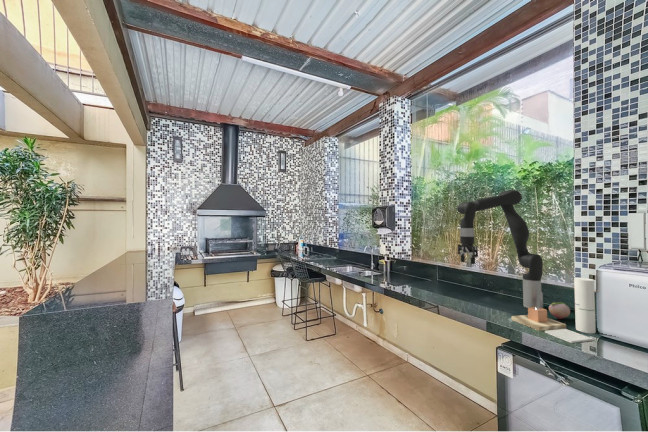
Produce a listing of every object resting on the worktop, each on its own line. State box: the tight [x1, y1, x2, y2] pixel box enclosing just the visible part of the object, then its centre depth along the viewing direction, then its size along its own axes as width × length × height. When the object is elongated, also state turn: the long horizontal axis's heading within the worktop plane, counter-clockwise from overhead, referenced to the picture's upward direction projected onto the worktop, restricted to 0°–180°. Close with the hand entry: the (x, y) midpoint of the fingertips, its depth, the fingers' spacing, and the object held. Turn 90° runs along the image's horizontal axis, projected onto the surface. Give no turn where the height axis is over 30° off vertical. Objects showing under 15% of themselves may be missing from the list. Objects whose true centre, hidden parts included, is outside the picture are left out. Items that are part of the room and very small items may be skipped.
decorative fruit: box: [548, 301, 571, 320], centre depth 152 cm, size 9×8×10 cm
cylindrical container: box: [573, 277, 597, 334], centre depth 137 cm, size 7×7×25 cm
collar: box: [527, 307, 548, 322], centre depth 146 cm, size 6×6×6 cm
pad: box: [544, 328, 594, 344], centre depth 130 cm, size 12×12×1 cm
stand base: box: [511, 314, 567, 332], centre depth 145 cm, size 16×16×2 cm
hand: (467, 263), depth 165 cm, fingers open, 8 cm apart
